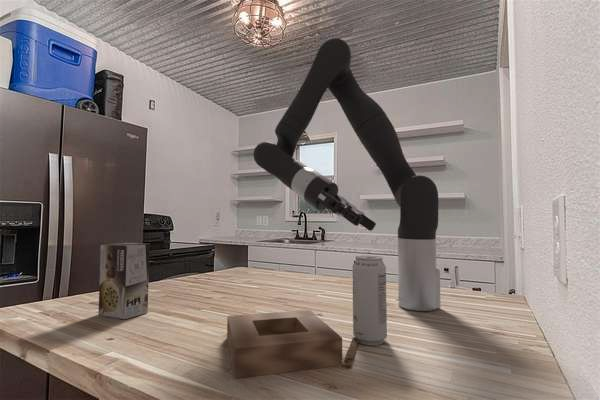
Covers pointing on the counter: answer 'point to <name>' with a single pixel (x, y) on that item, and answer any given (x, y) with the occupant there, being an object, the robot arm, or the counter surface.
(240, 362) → the socket block
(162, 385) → the counter surface
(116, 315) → the coffee box
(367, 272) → the energy drink can
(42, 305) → the counter surface
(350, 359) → the brown wooden stick
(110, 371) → the counter surface
